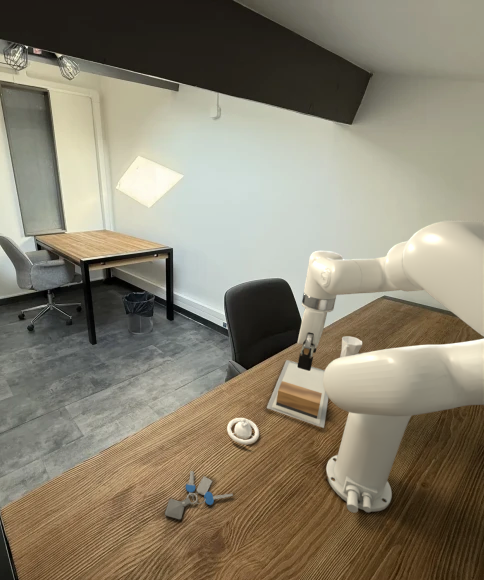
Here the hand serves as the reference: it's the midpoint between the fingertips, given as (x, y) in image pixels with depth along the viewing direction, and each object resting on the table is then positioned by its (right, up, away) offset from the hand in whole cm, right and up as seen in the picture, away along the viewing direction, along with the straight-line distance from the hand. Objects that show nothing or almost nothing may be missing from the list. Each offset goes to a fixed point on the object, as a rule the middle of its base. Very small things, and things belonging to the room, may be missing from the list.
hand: (306, 359), depth 82 cm
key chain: (-30, -23, -19) cm, 43 cm away
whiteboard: (+3, -13, +12) cm, 18 cm away
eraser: (-1, -14, +5) cm, 15 cm away
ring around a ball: (-18, -18, -5) cm, 26 cm away
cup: (+25, -7, +30) cm, 40 cm away
